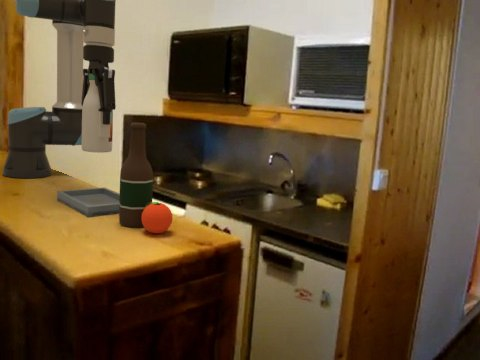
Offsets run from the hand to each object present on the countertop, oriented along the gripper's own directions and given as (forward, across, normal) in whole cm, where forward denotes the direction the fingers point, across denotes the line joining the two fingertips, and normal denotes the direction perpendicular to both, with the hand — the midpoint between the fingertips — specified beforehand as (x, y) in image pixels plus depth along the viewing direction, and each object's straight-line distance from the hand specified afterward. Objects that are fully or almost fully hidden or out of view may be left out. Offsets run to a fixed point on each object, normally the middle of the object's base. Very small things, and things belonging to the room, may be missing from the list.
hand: (97, 135), depth 118 cm
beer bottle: (+19, +20, +1) cm, 28 cm away
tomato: (+19, +28, +1) cm, 34 cm away
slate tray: (+19, 0, 0) cm, 19 cm away
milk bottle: (+4, 0, 0) cm, 4 cm away
